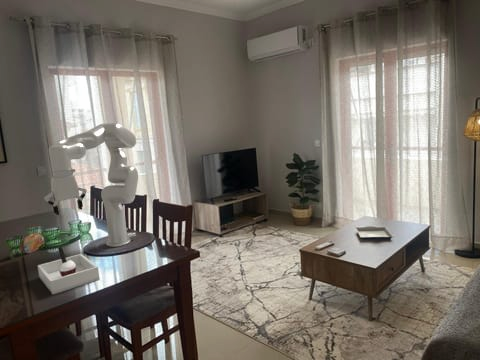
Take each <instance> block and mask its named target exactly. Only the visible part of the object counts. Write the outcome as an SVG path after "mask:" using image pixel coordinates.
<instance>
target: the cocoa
mask: <svg viewBox="0 0 480 360" xmlns="http://www.w3.org/2000/svg"><path fill="white" fill-rule="evenodd" d="M57 250H58V253H59V256H60V259H61V260H62V263H63V264H62V265H61V266H60V270H59V271H60V274H61V276H62V277H63V276H67V275H70V274H73V273H75V272H76V264H75V263H74V262H73V261H71V260H69V261H68V262H67V261H66V258H67V257H66V255H65V253H64V249H63V246H59V247H58V246H57Z"/></svg>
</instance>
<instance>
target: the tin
mask: <svg viewBox="0 0 480 360" xmlns="http://www.w3.org/2000/svg"><path fill="white" fill-rule="evenodd" d="M45 242H46V237H45V234H43V233H42V232H35V233H32V234H30V235H28V236H26V237H23V238H22V239H21V241H20V243H19V248H20V251H21V252H22V253H24V254H31V253H34V252H35V251H38V250H40V249H39V247H40V246H41V245H42V244H44V245H45V244H46V243H45Z"/></svg>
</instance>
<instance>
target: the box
mask: <svg viewBox="0 0 480 360" xmlns="http://www.w3.org/2000/svg"><path fill="white" fill-rule="evenodd" d="M65 258H66V261H67V262H68V261H69V260H71V261H73V262H74V263H75V264H76V272H75V273H73V274H70V275H67V276H63V277H62V276H61V274H60V271H59V270H60V266H61V265H62V264H63V263H62V260H61V258H59V259H55V260H53V261H50V262H49V261H48V262H45V263H41V264H38V265H37V271H38V277H39V279H40V280H41V282H42V283H43V284H44V286H45V287H46V288H47V290H48V291H49V293H51V295H56V294H60V293H62V292H65V291H68V290H72V289H74V288H77V287H80V286H84V285H88V284H89V283H93V282H97V281H99V280H100V271H99V266H97V265H96V264H95V263H94V262H92V261H91V260H90V259H88V258H87V257H86V256H85V255H84V254H82V253H79V254H75V255H71V256H68V257H65Z"/></svg>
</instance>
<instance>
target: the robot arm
mask: <svg viewBox="0 0 480 360" xmlns="http://www.w3.org/2000/svg"><path fill="white" fill-rule="evenodd" d="M102 144H105V146H106V147H107V150H108V152H109V155H110V163H109V167H108V173H107V180H108V182H109V183H111V185H106V186H104V187H103V188H102V190H101V192H100V196H101V200H102V203H103V206H104V212H105V220H106V229H107V236H108V237H107V238H108V240H107V241H106V242H105V245H106V246H107V247H112V248H113V247H114V248H115V247H121V246H125V245H127V244H128V245H129V244H130V242H131V237H132V238H133V237H136V236H137V234H136V231H135V232H127V231H128V230H127V223H126V222H127V221H126V215H125V208H124V207H123V205H122V204H124V205H125V204H132V203H133V202H134V200H135V198H136V193H137V187H138V183H139V181H138V180H139V171H138V169H137V168H136V167H135V166H133V165H127V164H128V157H127V155H126V153H125V151H124V150H123V149H132V148H134V147H135V146H136V144H137V137H136V136H135V134H134V133H133V132H132V131H131V130H130V129H128V128H127V127H125V126H124V125H122V124H120V123H119V122H108V123H101V124H100V123H99V124H98V125H96V126H95V127H92V128H91V129H89V130H87V131H84V132H81V133H77V134H76V135H71V136H69V137H66V138H63V139H61V140H59V141H58V142H56V143H55V144H54V145H51V146H49V148H48V153H49V154H48V155H49V159H50V165H51V166H50V167H51V172H52V177H51V178H50V179H51V180H50V181H51V182H50V183H51V184H50V187H51V192H50V193H47V195H45V196H44V197H43V199H44V200H45V201H46V202H47V204H48V205H51V206H52V209H53V213H54V214H55V215H56V216H59V215H60V211H59V206H58V203H59V202H62V201H66V200H71V199H77V200H76V202H77V208H78V209H79V210H83V207H84V206H83V200H84V199H85V197H86V194H87V191H88V190H87V189H86V188H83V187H80V186H78V182H77V179H76V176H75V175H74V173H76V169H75V168H72V163H71V160H80V159H82V158H83V157H85V156H86V153H87V151H88V150H92V149H95V148H98V147H99V146H100V145H102ZM112 184H115V185H112ZM116 184H117V185H116ZM120 184H121V185H120ZM80 192H81V194H80ZM51 198H52V199H53V200H50V199H51Z"/></svg>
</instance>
